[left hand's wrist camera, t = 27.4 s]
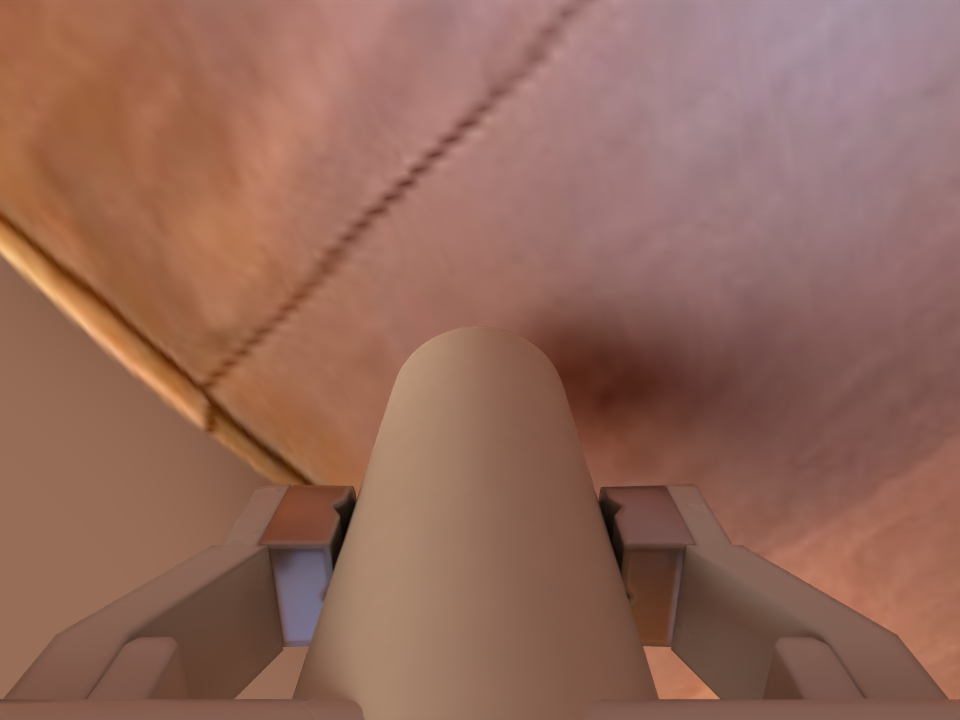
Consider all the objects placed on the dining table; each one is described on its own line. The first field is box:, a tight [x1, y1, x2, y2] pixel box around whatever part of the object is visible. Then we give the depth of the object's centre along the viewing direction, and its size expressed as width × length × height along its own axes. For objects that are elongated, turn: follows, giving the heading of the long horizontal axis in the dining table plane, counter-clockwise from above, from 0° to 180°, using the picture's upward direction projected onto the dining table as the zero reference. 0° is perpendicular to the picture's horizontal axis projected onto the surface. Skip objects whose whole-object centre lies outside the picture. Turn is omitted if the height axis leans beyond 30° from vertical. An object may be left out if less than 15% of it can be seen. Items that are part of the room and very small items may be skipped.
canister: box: [292, 327, 659, 720], centre depth 10 cm, size 4×4×10 cm
